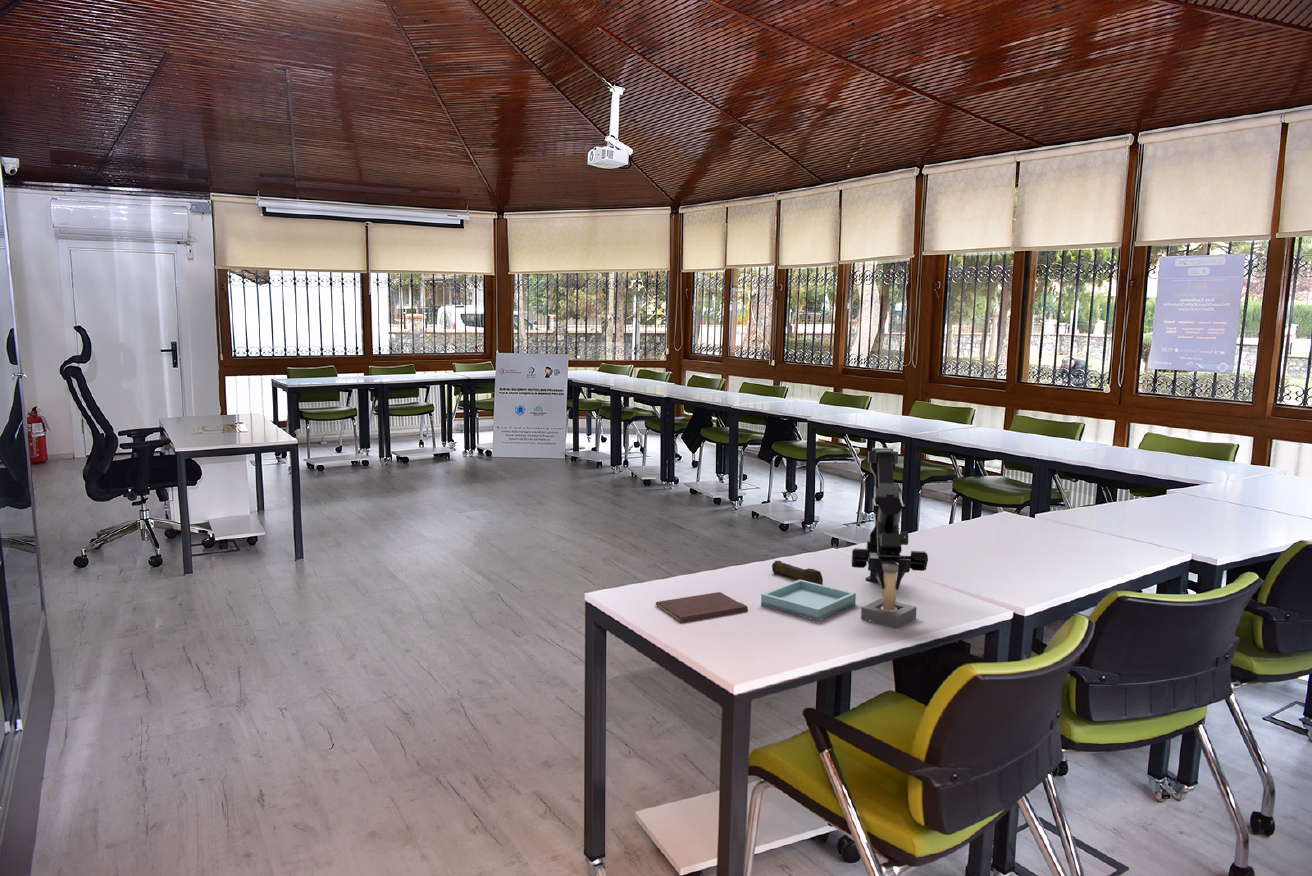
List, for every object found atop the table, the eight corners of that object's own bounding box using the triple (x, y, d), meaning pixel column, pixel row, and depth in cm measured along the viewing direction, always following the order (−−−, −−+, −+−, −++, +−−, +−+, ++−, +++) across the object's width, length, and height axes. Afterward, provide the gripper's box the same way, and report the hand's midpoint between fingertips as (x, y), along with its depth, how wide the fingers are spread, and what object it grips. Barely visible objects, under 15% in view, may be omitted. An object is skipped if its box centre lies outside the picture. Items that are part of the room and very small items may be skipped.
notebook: (655, 607, 223) (655, 600, 223) (719, 597, 232) (719, 590, 231) (681, 625, 210) (681, 617, 210) (747, 613, 218) (748, 606, 218)
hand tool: (770, 573, 252) (771, 559, 252) (780, 571, 254) (780, 556, 254) (815, 590, 237) (815, 574, 236) (825, 587, 239) (825, 572, 238)
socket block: (880, 609, 219) (881, 598, 219) (916, 618, 212) (916, 606, 212) (861, 618, 212) (861, 607, 212) (897, 628, 205) (897, 616, 205)
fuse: (885, 610, 215) (887, 561, 213) (899, 613, 212) (901, 564, 210) (877, 613, 212) (879, 564, 210) (892, 617, 209) (893, 567, 208)
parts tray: (799, 589, 236) (799, 579, 235) (855, 604, 223) (855, 593, 223) (761, 605, 223) (761, 594, 223) (818, 621, 211) (818, 609, 210)
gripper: (853, 518, 214) (853, 571, 205) (928, 521, 211) (932, 575, 202) (851, 540, 223) (851, 592, 214) (923, 543, 220) (927, 596, 210)
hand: (890, 589), depth 210 cm, fingers closed on fuse, 3 cm apart
